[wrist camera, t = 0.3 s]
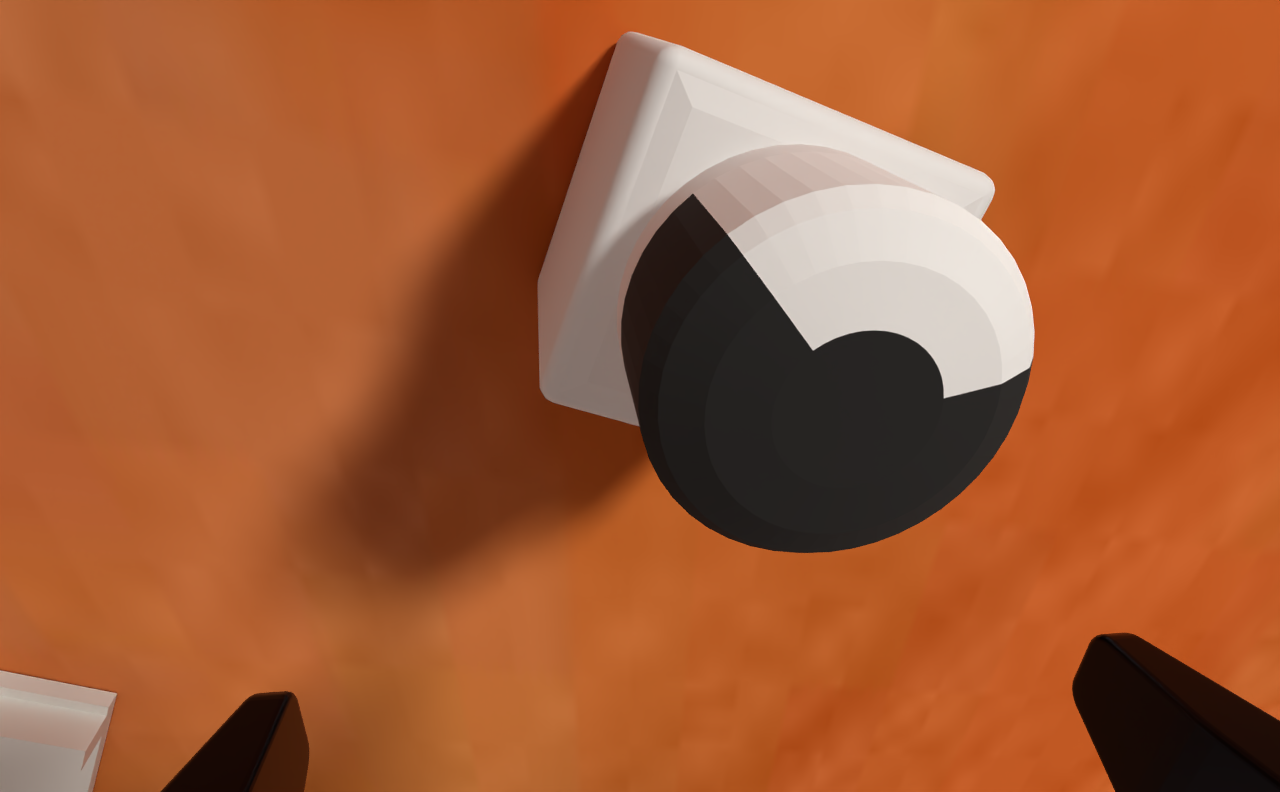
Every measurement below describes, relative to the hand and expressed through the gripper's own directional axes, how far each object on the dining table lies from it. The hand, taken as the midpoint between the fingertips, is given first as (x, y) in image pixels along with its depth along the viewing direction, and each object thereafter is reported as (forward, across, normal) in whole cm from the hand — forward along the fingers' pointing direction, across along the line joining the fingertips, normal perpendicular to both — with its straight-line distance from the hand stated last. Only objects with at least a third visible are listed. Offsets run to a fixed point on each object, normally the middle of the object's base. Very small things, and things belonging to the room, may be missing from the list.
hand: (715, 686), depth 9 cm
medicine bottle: (+15, -2, -1) cm, 16 cm away
